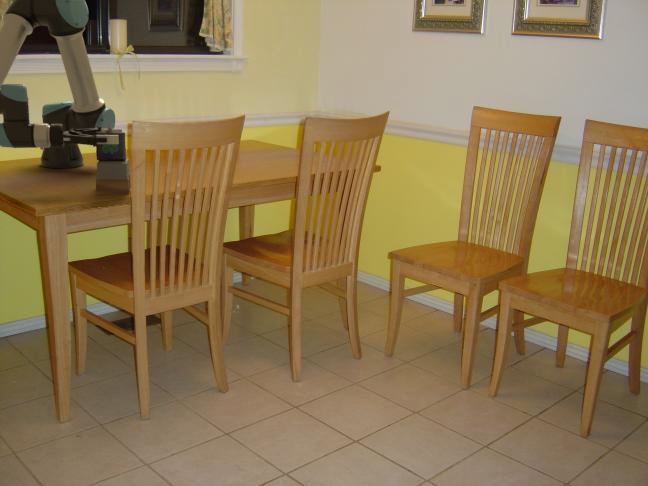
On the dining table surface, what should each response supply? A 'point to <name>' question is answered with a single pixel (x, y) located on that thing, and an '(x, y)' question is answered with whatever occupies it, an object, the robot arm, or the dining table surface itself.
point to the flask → (111, 147)
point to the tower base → (113, 186)
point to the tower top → (113, 169)
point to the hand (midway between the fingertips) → (120, 136)
